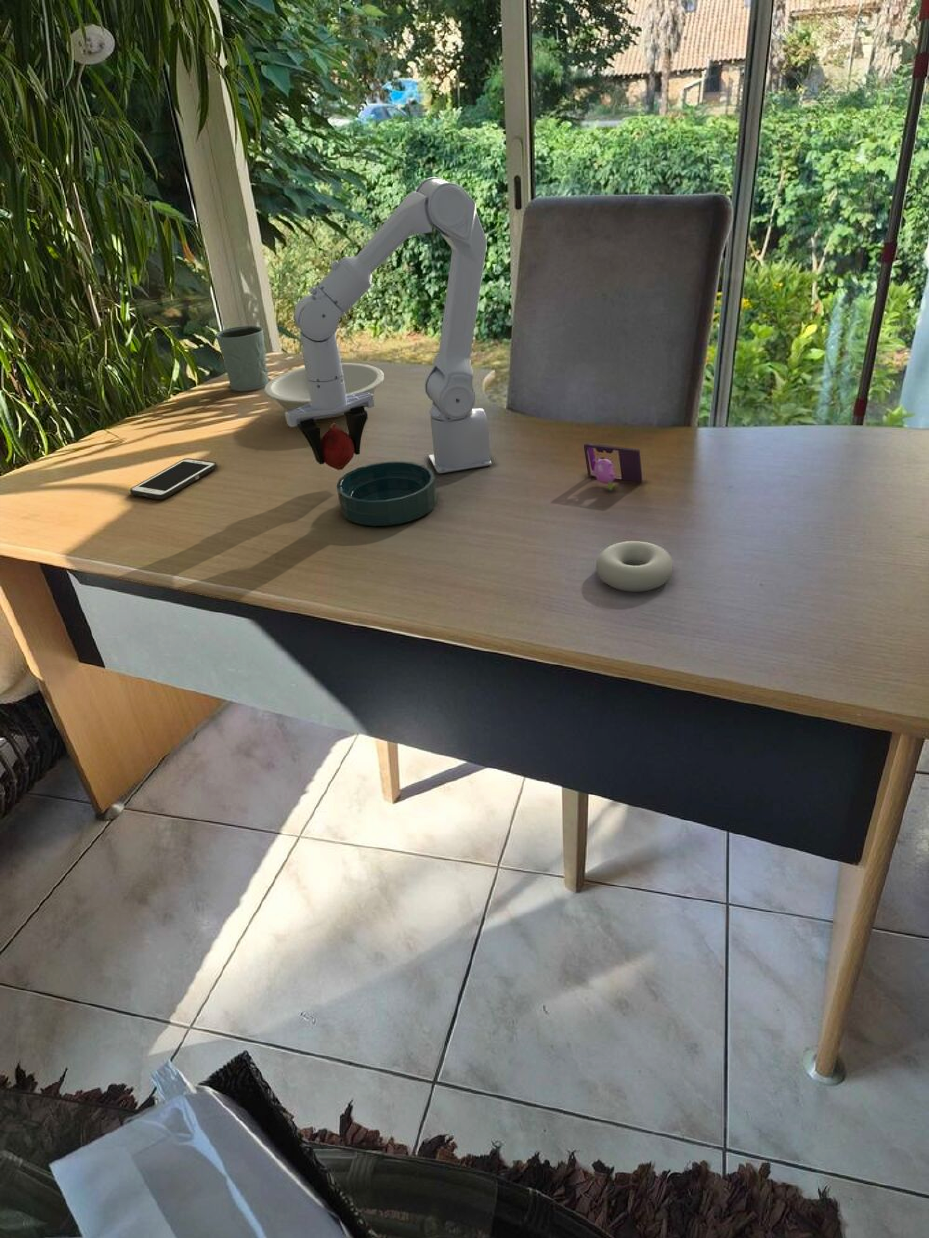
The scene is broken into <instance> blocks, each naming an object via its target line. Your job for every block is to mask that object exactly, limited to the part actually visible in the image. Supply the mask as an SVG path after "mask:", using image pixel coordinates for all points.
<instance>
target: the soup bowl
mask: <svg viewBox="0 0 929 1238" xmlns="http://www.w3.org/2000/svg"><path fill="white" fill-rule="evenodd" d="M341 365H342V371H343V377H344V384H345V390H346V396H347V395H354V394H361V393H366V392H369V393H370V394H372V395H373V396H374V394H375V391H376V389H377V388H378V386H380V385H381V384H382V383H383V382H384V380H385V374H384V371H382V370H381V369H380V368H378V367H376V366H373V365H370V364H365V363H359V362H358V363H357V362H341ZM263 391H264V393H265V395H266V396H267V397H268V398H270V399H272V400H274V401H276V402H277V403H278V404H279V405H280V406H281V408H283V409H284V410H286V412H289V411H292V410H295V409H297V408H300V407H302V406H305V405H307V404H310V403H311V399H310V393H309V388H308V382H307V377H306V371H305V366H304V367H300V368H295V369H292V370H289V371H287V372H284V373H282V374H279V375H277V376H275V377H274V378H272V379H270V380H269V382H268V383H267V384H266V386H265V387H264V390H263ZM343 416H344V413H340V414H336V415H332V416H328V417H324V418H320V419H319V420H321V419H332V418H338V417H343Z"/></svg>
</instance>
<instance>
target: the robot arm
mask: <svg viewBox="0 0 929 1238" xmlns="http://www.w3.org/2000/svg"><path fill="white" fill-rule="evenodd" d="M432 227H433V228H434V229H435V230H437V232H439V234H440V235H441V237H442V238H443V239H444V241H446V243H447V244H448V246H450V248H451V254H450V255H451V256H450V263H449V271H448V278H447V286H446V294H445V302H444V308H443V309H444V310H443V315H442V316H443V318H442V325H441V331H440V338H439V339H440V341H439V348H438V351H437V353H436V355H435V356H434V358H433V360H432V361H433V362H432V367H431V370H430V372H429V373H428V375H427V376H426V378H425V382H424V391H425V393H426V395H427V397H428V398H429V399H430V401H431V402H432V404H431V408H430V410H429V416H430V426H431V427H430V428H431V437H432V448H433V453H432V454H429V455H428V459H429V461H430V462H431V465H433V467H434V469H435V471H436V473H437V474H446V473H452V472H457V471H465V470H469V469H475V468H481V467H488V466H491V465H492V460H491V450H490V449H491V447H490V432H489V424H488V417H487V414H486V412H485V410H484V408H481V407H480V408H479V407H478V408H474V407H475V404H476V393H475V390H474V386H473V382H474V372H473V367H472V362H471V353H472V347H473V340H474V333H475V327H476V322H477V321H476V319H477V314H478V307H479V301H480V294H481V285H482V280H483V273H484V266H485V259H486V254H487V253H486V252H487V243H488V241H487V238H486V234H485V232H484V229H483V226H482V223H481V220H480V218H479V215H478V212H477V205H476V201H475V200H474V198H472V197H471V196H470V194H469V193H468V192H467V191H466V190H465V189H464V187H462V185H460V184H458V183H455V182H448V181H446V180H444V179H443V178H441V177H438V176H437V177H435V176H434V177H433V176H431V177H428V178H425V179H424V180H422V181H421V182H419V184H418V186H417V188H416V189H415V190H412V191H411V192H410V193H408V194H407V195H406V196H405V197H404V198H403V200H402V201H401V202H400V203H399V205H398V206H397V207H396V208H395V210H393V212H391V213H390V215H389V216H388V217H387V219H386V220H385V221H384V222H383V223H382V225H381V226H380V227H379V228H378V230H377V231H376V232H375V233H374V234H373V235H372V236H371V238H370V239H369V240H368V241H367V243H366V244H365V245H364V246H363V247H362V248H361V249H360V251H359V252H358V253H357V254H356V255H355V256H343V257H342V258H341V259H340V260H339V261H338V260H337V259H334V260H333V261H332V262H331V263H330V264H329V267H330V268H331V270H329V272H328V273H327V274H326V276H324V277H323V279H321V281H320V282H319V283H318V284H317V285H316V286H314V285H312V286H310V287H309V289H308V292H309V293H310V294H308V295H305V296H303V297H302V298H300V299H299V300H298V301H297V303H296V305H295V307H294V311H293V312H294V314H293V316H292V318H293V321H294V323H295V325H296V326H297V327H298V328H299V330H300V332H299V334H300V335H299V336H300V344H301V346H302V347H301V354H302V359H303V365H304V367H305V371H306V377H307V382H308V388H309V393H310V399H311V403H310V404H307V405H305V406H302V407H300V408H297V409H295V410H292V411H285V412H284V415H285V421H286V424H287V426H289V427H290V428H294V427H298V429H299V430H300V431H301V433H302V435H303V436H304V437H305V439H306V441H307V442H308V444H309V446H310V448H311V450H312V452H313V455H314V458H315V460H316V462H317V463H318V464H319V465H324V464H325V462H324V456H323V451H322V446H321V438H322V435H321V427H319V426H318V424H317V422H316V420H321V419H320V418H324V417H328V416H332V415H336V414H340V413H344V415H343V416H344V419H345V423H346V427H347V433H348V435H349V436H350V437H351V439H352V441H353V444H354V455H356V456H357V455H360V454H361V441H362V437H363V432H364V428H365V426H366V423H367V421H368V417H369V416H368V411H367V410H365V408H373V407H375V399H374V394H373V395H372V394H370V393H369V392H366V393H361V394H354V395H347V396H346V390H345V384H344V377H343V371H342V365H341V363H342V359H341V352H340V346H339V344H338V341H337V335H336V333H337V330H338V327H339V319H340V318H343V317H344V316H345V315H346V314H347V313H348V312H349V311H350V310H351V309H352V308H353V307H354V306H355V304H356V303H357V302H358V301H360V299H361V298H362V297H363V296H364V295H365V294H366V293H367V291H368V290H369V289H370V288H371V287H372V275H373V273H374V272H375V271H376V270H377V269H378V268H379V267H380V266H381V265H382V264H383V263H384V262H385V261H386V260H387V259H388V258H389V257H390V256H391V255H392V254H393V253H394V252H395V251H397V249H398V248H399V247H400V246H401V245H402V244H403V243H404V242H406V241H407V239H408V238H409V237H412V236H415V235H422V234H429V233H432V232H433V229H432ZM324 419H325V418H324Z"/></svg>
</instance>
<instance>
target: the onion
mask: <svg viewBox="0 0 929 1238" xmlns="http://www.w3.org/2000/svg"><path fill="white" fill-rule="evenodd" d="M321 446H322V451H323V456H324V464H326V465H327V466H329V467H330V468H333V469H335V470H337V471H341V470H343V469H344V468H345V467H346V466H347V465H348V464H349V463H350V462H351V461H352V459H353V458H354V456H355V453H354V444H353V441H352V439H351V437H350V436H349V433H348V432H346V431H344V430H342V429H340V428H339V427H338V424H337V423H335V422H333V423H331V424H330V425H329V428H328V430H327V431H326V432H324V433H323V435H321Z"/></svg>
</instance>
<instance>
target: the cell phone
mask: <svg viewBox="0 0 929 1238" xmlns="http://www.w3.org/2000/svg"><path fill="white" fill-rule="evenodd" d="M217 468H218V465H217V462H215V461H210V460H203V459H197V458H189V457H187V458H186V457H185V458H183V459H180V460H179V461H177V462H174V463H173V464H172V465H170V466H168V467H166V468H164V469H163V470H161V471H159V472H157V473H156V474H154V475H152V476H150V477H148V478H147V479H145V480H143V481H141V482H139V483H138V484H136V485H134V486H132V487H131V488H130V489H129V491H130V494H131V495H132V496H137V497H141V498H142V497H145V498H149V499H155V500H165V499H166V498H168V497H170V496H173V494H175V493H177V492H179V491H181V490H182V489H183V488H186V487H187V486H189V485H190V484H192V483H194V482H196V481H197V480H199V479H201V478H202V477H204V476H205V475H208V474H209V473H211V472H212V471H214V470H215V469H217Z"/></svg>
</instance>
